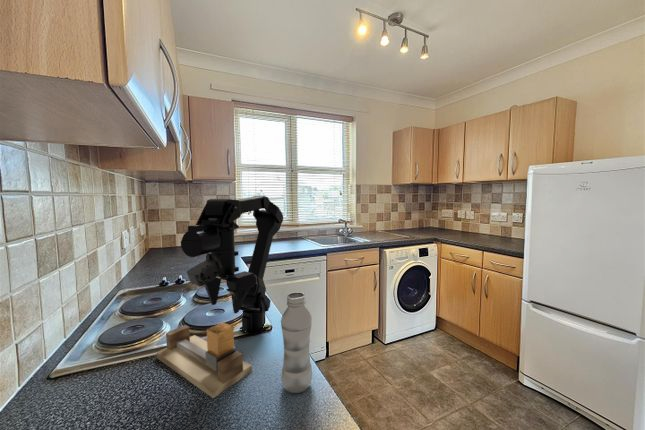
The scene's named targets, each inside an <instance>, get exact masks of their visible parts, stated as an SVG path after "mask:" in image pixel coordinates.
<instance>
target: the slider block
mask: <svg viewBox="0 0 645 430" xmlns="http://www.w3.org/2000/svg"><path fill="white" fill-rule="evenodd" d="M234 330H235V329H234V326H233V325H230V324H228V323H225V322H220V323H218V324H216V325H214V326H211V327H209V328H207V329H206V341H207V349H208V351H207V352H206V365H207V366H208V367H210V368H212V369H213V370H215V371H216V372H217V371H218V370H217V362H219V361H220V360H222V359H224V358H225V357H227V356H229V355H231V354H232V353H234V352H236V351H237V348H236V347H237V346H235V339H234V338H235V337H234V336H235V335H234V334H235V333H234Z"/></svg>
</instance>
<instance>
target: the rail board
mask: <svg viewBox="0 0 645 430" xmlns="http://www.w3.org/2000/svg"><path fill="white" fill-rule="evenodd" d="M190 335H191V334H190V326H188V325H187V324H185V325H182V326H180V327H177V328H175V329H172V330H170V331H168V332H166V335H165V336H166V337H165V338H166V347H165V348H163V349H161V350H159V351H157V352H156V359H157V360H159V361H160V362H162V363H163V364H165V366H167V367H169V368H170V369H171V370H172V371H174V372H175V373H177V374H178V375H180V376H181V377H183V378H184V379H186V380H187V381H188V382H189V383H190V384H193V385H194V386H195V387H197V388H198V389H199V390H201V391H202V392H203V393H205V394H206V395H208V396H209V397H211V398H212V399H214V398H216V397H217V396H219V395H221V394H222V393H223V392H224V391H226V390H228V389H229V388H230V387H231V386H233V385H235V384H236V383H237V382H239V381H241V379H243V378H245V377H246V376H247V375H249V374H250V373H251V372H253V365H252V364H251V363H250V362H247V361H245V360H243V359H244V357H243V356H244V355H243V353H242V352H240V351H238V350H236V352H234V353H232V354H231V355H229V356H227V357H225V358H224V359H222V360H220V361H219V362H217V370H218V371H217V372H216V371H215V370H213V369H212V368H210V367H208V366H207V365H206V352H207V351H208V349H207V340H205V339H203V338H201V337H199V336H198V335H195V334H194V335H192V336H190Z"/></svg>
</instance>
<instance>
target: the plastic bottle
mask: <svg viewBox="0 0 645 430" xmlns="http://www.w3.org/2000/svg"><path fill="white" fill-rule="evenodd" d="M305 297H306V296H305V293H304V292H300V291H295V292H290V293H288V294H287V295H286V306H287V308H286V309H285V310H284V312H283V314H282V315H281V319H280V323H281V324H280V326H281V333H282V338H283V364H282V368H281V376H280V378H281V382H282V383H281V384H282V386H283V388H284V389H285V390H286V391H287V392H288V393H291V394H300V393H302V392H304V391H306V390H307V389H308V388H309V386H310V385H311V384H312V380H313V367H312V363H311V356H310V354H311V353H310V339H311V338H310V336H311V329H312V321H313V319H312V318H313V317H312V314H311V312H310V311H309V309H308V308H307V307H306V306H305V305H306V299H305Z"/></svg>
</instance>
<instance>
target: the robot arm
mask: <svg viewBox="0 0 645 430" xmlns="http://www.w3.org/2000/svg"><path fill="white" fill-rule="evenodd" d="M250 212H252V216H253V218H254V219H255V220H256V221H255V225H256V226H255V227H256V229H257V237H256V240H255V244H254V248H253V253H252V257H251V260H250V264H249V267H248V271H240V267H239V266H236V256H239V251H238V250H235V249H236V247H235V246H236V245H235V230H236V229H239V228H240V227H239V225H238V224H237V223H236V222H235V221H237V220H238V219H240V218H241V216H242V215H243V214H246V213H250ZM283 222H284V214H283V212H282V211H281V208H280V207H279V206H277V205H276V204H275V203H273V202H272V201H271V200H270V199H269V197H268V196H266V195H253V196H250V197H246V198H237V199H236V198H210V199H208V200H206V203H205V205H204V206H203V209H202V210H201V213H200V215H199V217H198V219H197V221H196V223H195V225H194V224H191V225H188V226H187V231H186V232H185V233H184V234H183V235H182V238H181V240H180V246H181V247H180V248H181V249H182V252H183V253H184V254H185V255H186V256H187V257H189V258H194V257H199V256H203V255H205V260H204V261H202V262H199V263H198V264H197V265H195V266H193V267H191V268H190V269H188V270H187V271H186V274H187V277H188V278H189V282H190V284H192V285H196V286H197V287H202V286H203V287H204V288H205V291H206V294H207V296H208V299H209V301H210V303H211V305H212V306H216V305H217V302H218V299H219V293H220V287H221V283H222V280H224V281H226V286H227V288H226V291H227V293H229V294H230V296H231V300H232V301H231V302H232V303H231V304H232V311H233V314H235V315H236V314H239V313H240V311H242V316H241V326H240V327H239V330H240V329H242V330H243V332H244V331H246V332H245V333H246V334H249V335H251V336H255V335H257V334H258V333H260V332H262V331H264V330H266V329H267V328H266V327H264V328H263V326H264V324H265V323H266V312H268V311H269V309H270V307H271V299H270V298H269V297H268V296H267V294H266V292H267V287H266V284H265V282H264V276H265V272H266V267H267V263H268V261H269V260H268V259H269V255H270V251H271V247H272V242H273V238H274V236H275V235H276V234H277V233H278V232H279V231H280V228H281V226H282V224H283ZM265 328H266V329H265ZM242 330H241V331H242Z"/></svg>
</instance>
